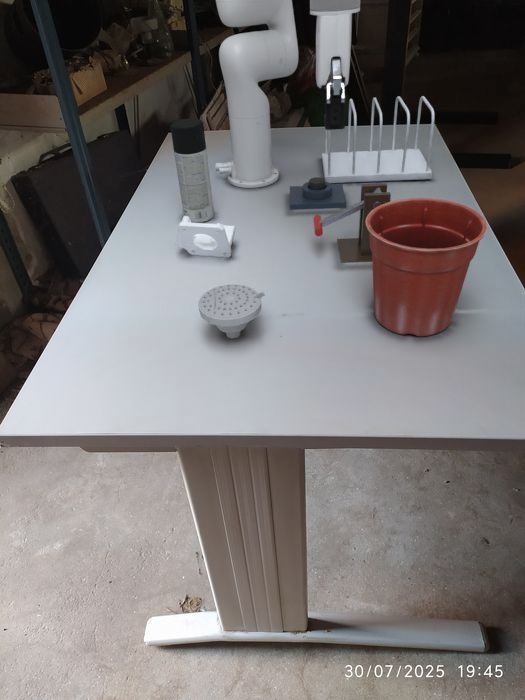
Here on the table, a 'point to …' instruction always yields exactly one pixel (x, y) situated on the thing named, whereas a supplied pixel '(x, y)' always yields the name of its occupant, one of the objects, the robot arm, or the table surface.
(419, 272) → the flower pot
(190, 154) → the spray can
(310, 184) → the button
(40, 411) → the table surface
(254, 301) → the showerhead
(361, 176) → the file sorter
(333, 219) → the tap lever
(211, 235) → the mounting bracket
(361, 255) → the brown lever stand
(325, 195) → the button box
